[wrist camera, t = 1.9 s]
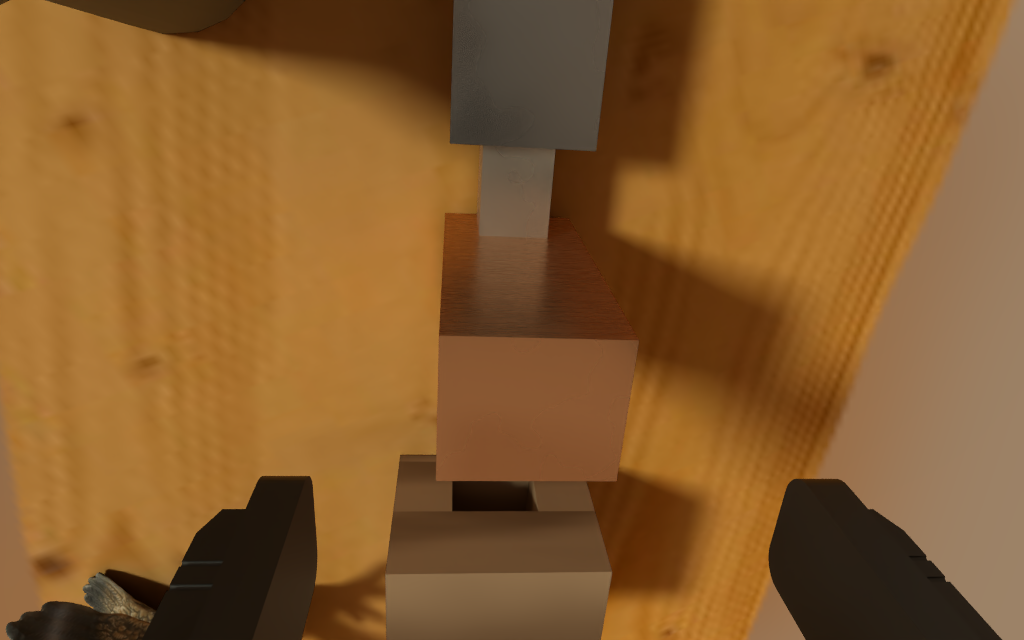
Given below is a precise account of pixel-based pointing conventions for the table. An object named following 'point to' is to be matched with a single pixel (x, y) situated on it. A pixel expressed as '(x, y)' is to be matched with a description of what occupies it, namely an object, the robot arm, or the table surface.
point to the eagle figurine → (87, 616)
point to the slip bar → (527, 338)
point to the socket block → (493, 559)
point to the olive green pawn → (158, 12)
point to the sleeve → (529, 72)
